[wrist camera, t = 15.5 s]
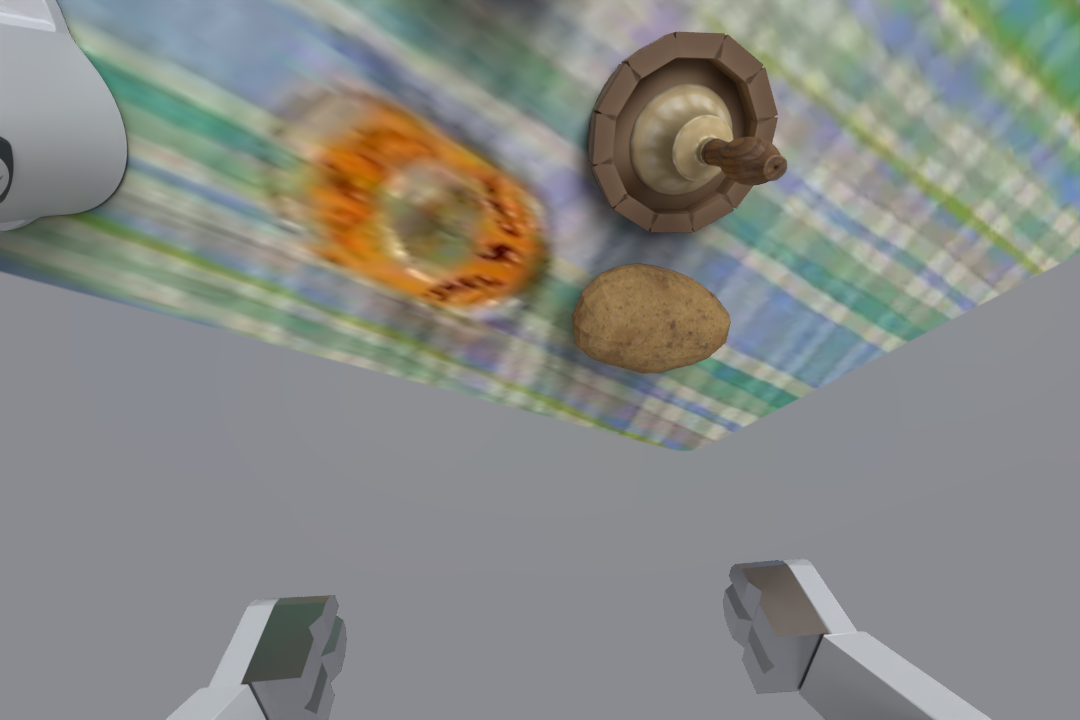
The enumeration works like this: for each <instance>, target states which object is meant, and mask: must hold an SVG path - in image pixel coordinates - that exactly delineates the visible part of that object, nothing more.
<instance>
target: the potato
mask: <svg viewBox="0 0 1080 720" xmlns="http://www.w3.org/2000/svg"><path fill="white" fill-rule="evenodd" d="M572 318H573V325H574V338H575V344H576V345H577V346H578V347H579V348H580V349H581V350H582V351H584V352H585V353H586V354H587V355H588V356H589V357H591V358H593V359H596V360H598V361H601V362H604V363H607V364H610V365H614V366H619V367H623V368H627V369H630V370H633V371H637V372H640V373H660V372H664V371H667V370H671V369H675V368H680V367H684V366H688V365H692V364H695V363H697V362H700V361H702V360H704V359H707V358H708V357H710V356H711V355H712V354H713V353H714V352H715V351H717V350H718V349H719V348H720V347H721V346H722V345H723V344H725V343H726V340H727V336H728V331H729V327H730V323H731V321H730V316H729V313H728V312H727V311H726V309H725V308H724V307H723V305H722V304H721V303H720V301H719V300H718V299H717V297H716V296H715V295H714V294H713V293H712V292H710V291H709V290H708V289H706V288H705V287H704V286H702V285H701V284H699V283H698V282H697V281H695V280H694V279H692V278H691V277H688V276H685V275H683V274H680V273H678V272H675V271H671V270H668V269H664V268H660V267H656V266H651V265H646V264H640V263H636V264H630V265H623V266H618V267H615V268H613V269H611V270H608V271H606V272H603V273H601V274H599V275H598V276H597V277H596V278H595V279H594V280H593V281H592V282H591V283H590V284H589V285H588V286H587V287H586V288H585V289H584V290H583V292H582V294H581V296H580V298H579V301H578V303H577V305H576V308H575V310H574V312H573V314H572Z"/></svg>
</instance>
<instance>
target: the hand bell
mask: <svg viewBox="0 0 1080 720" xmlns="http://www.w3.org/2000/svg"><path fill="white" fill-rule="evenodd" d="M630 155H631V160H632V164H633V167H634V170H635V172H636V174H637V175H638V177H639V178H640V180H641V181H642V182H643V183H644V184H645V185H646V186H647V187H649V188H650V189H652V190H653V191H655V192H658V193H660V194H664V195H669V196H678V195H684V194H688V193H691V192H694V191H696V190H698V189H700V188H701V187H703V186H704V185H706V184H707V183H708V182H709V181H710V180H712V179H713V178H714V177H715V176H716V175H717V174H719V173H720V172H721V171H723V173H724V174H725V175H726V176H727V177H728V178H729V179H731V180H733V181H734V182H737V183H740V184H743V185H759V184H763V183H766V182H768V181H773V180H777V179H779V178H780V177H781V176H782V175H783V174H784V173H785V172H786V170H787V161H786V159H785V158H784V157H783V156H782V155H781V154H780V153H779V151H778V149H777V148H776V147H775V146H774V145H773V144H772V143H771V142H769V141H767V140H765V139H763V138H758V137H741V138H738V139H735V140H733V135H732V121H731V116H730V113H729V111H728V108H727V106H726V105H725V103H724V101H723V100H722V99H721V98H720V97H719V95H718V94H716V93H715V92H714V91H713V90H711V89H709V88H707V87H705V86H703V85H699V84H693V83H685V84H678V85H674V86H671V87H669V88H667V89H665V90H663V91H661V92H660V93H658V94H657V95H655V96H654V97H653V98H652V99H651V100H650V101H649V102H648V103H647V104H646V105H645V107H644V108H643V109H642V111H641V112H640V114H639V116H638V117H637V119H636V122H635V124H634V126H633V130H632V134H631V140H630Z"/></svg>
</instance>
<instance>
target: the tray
mask: <svg viewBox="0 0 1080 720" xmlns="http://www.w3.org/2000/svg"><path fill="white" fill-rule="evenodd" d="M762 66H763V64H762V63H761V62H759V61H758V60H757V59H756V58H755V57H754V56H752V55H751V54H750V53H749V52H748V51H746V50H745V49H744V48H743V47H742V46H741V45H739V44H738V43H737V42H736V41H735V40H734V39H732V38H731V37H730V36H729V35H725V34H722V33H695V32H674V33H671V34H667V35H664V36H663V37H661V38H660V39H658V40H656V41H655V42H653V43H651V44H649V45H647V46H645V47H643V48H642V49H640V50H638V51H637V52H635V53H634V54H633V55H631V56H630V57H628V58H627V59H625V60H624V61H622V64H619V65H618V67H617V69H616V70H615V72H614V73H613V74H612V75H611V76H610V78H609V79H608V81H607V82H606V84H605V85H604V87H603V89H602V91H601V93H600V95H599V97H598V99H597V101H596V104H595V107H594V108H593V113H592V117H591V121H590V126H589V134H588V151H589V161H590V166H591V168H592V172H593V174H594V177H595V179H596V182H597V184H598V185H599V187H600V189H601V191H602V192H603V194H604V196H605V198H606V201H607V203H608V204H609V205H610V206H611V207H612V208H613V209H614V210H615V211H617V212H619V213H620V214H622V215H623V216H625V217H626V218H628V219H629V220H631V221H633V222H634V223H636V224H637V225H639V226H640V227H642V228H643V229H645V230H647V231H650V232H692V230H693V231H694V232H695V231H696V230H698V229H700V228H702V227H704V226H706V225H708V224H710V223H711V222H713V221H715V220H717V219H719V218H721V217H723V216H724V215H726V214H728V213H730V212H732V211H734V210H733V207H734V208H737V207H738V205H739V204H740V203H741V201H742V200H743V199H744V197H745V196H746V195H747V193H748V192H749V191H750V189H751V188H752V187H753V185H743V184H740V183H737V182H734V181H733V180H731V179H729V178H728V177H727V176H726V175H725V174H724V173H723V171H721V172H720V173H719V174H717V175H716V176H715V177H714V178H713V179H712V180H710V181H709V182H708V183H707V184H706V185H704V186H703V187H701V188H700V189H698V190H696V191H694V192H691V193H688V194H684V195H678V196H669V195H664V194H660V193H658V192H655V191H653V190H652V189H650V188H649V187H647V186H646V185H645V184H644V183H643V182H642V181H641V180H640V178H639V177H638V175H637V174H636V172H635V170H634V167H633V164H632V160H631V155H630V140H631V134H632V130H633V126H634V124H635V122H636V119H637V117H638V116H639V114H640V112H641V111H642V109H643V108H644V107H645V105H646V104H647V103H648V102H649V101H650V100H651V99H652V98H653V97H654V96H655V95H657V94H658V93H660V92H661V91H663V90H665V89H667V88H669V87H671V86H674V85H678V84H685V83H693V84H699V85H703V86H705V87H707V88H709V89H711V90H713V91H714V92H715V93H716V94H718V95H719V97H720V98H721V99H722V100H723V101H724V103H725V105H726V106H727V108H728V111H729V113H730V116H731V121H732V135H733V140H735V139H738V138H741V137H758V138H763V139H765V140H767V141H769V142H771V143H772V141H773V137H774V132H775V128H776V123H777V119H778V118H775V117H774V116H776V115H778V114H777V110H776V106H775V103H774V99H773V95H772V91H771V88H770V84H769V80H768V77H767V73H766V69H765V68H762Z"/></svg>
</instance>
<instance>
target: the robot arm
mask: <svg viewBox="0 0 1080 720" xmlns="http://www.w3.org/2000/svg"><path fill="white" fill-rule="evenodd" d="M126 159H127V142H126V134H125V129H124V125H123V121H122V118H121V115H120V112H119V110H118V107H117V105H116V102H115V100H114V98H113V96H112V94H111V92H110V91H109V89H108V87H107V85H106V84H105V82H104V81H103V79H102V78H101V76H100V75H99V73H98V72H97V70H96V69H95V68H94V66H93V65H92V64H91V63H90V61H89V60H88V59H87V58H86V56H85V55H84V54H83V53H82V51H81V50H80V49H79V47H78V46H77V45H76V43H75V42H74V40H73V38H72V37H71V35H70V33H69V30H68V28H67V25H66V23H65V20H64V18H63V15H62V13H61V11H60V8H59V6H58V4H57V2H56V0H0V231H7V230H13V229H18V228H21V227H24V226H26V225H28V224H29V223H31V222H33V221H34V220H36V219H38V218H39V217H43V216H53V215H68V214H75V213H80V212H84V211H87V210H89V209H92V208H94V207H96V206H98V205H100V204H101V203H103V202H104V201H105V200H106V199H108V198H109V197H110V196H111V195H112V193H113V192H114V191H115V190H116V188H117V187H118V185H119V183H120V181H121V179H122V176H123V174H124V170H125V166H126ZM729 577H730V579H731V582H732V585H731V586H730V587H728V588H727V589H726V590H725V594H724V599H723V605H724V614H725V618H726V622H727V625H728V628H729V630H730V633H731V635H732V637H733V639H735V640H736V641H737V642H738V643H739V644H741V645H742V646H743V647H744V648H745V649H744V653H743V657H742V660H743V663H744V665H745V668H746V670H747V672H748V674H749V677H750V679H751V681H752V683H753V685H754V688H755V690H756V693H757V694H761V693H777V692H792V691H800V692H799V694H800V695H801V696H802V697H803V698H804V699H805V700H806V701H807V702H808V703H809V704H810V705H811V706H812V707H813V708H814V709H815V710H816V711H817V712H818V713H819V714H820V715H821V716H822V717H823V718H824V719H825V720H991V719H990V718H988V717H987V716H986V715H984V714H982V713H981V712H980V711H978V710H977V709H976V708H974V707H973V706H971V705H970V704H968V703H967V702H965V701H964V700H963V699H961V698H960V697H958V696H957V695H955V694H954V693H953V692H951V691H950V690H948V689H947V688H945V687H944V686H942V685H941V684H939V683H938V682H937V681H935V680H934V679H932V678H931V677H930V676H928V675H927V674H925V673H924V672H922V671H921V670H919V669H918V668H917V667H915V666H914V665H912V664H911V663H909V662H908V661H907V660H905V659H904V658H902V657H901V656H899V655H898V654H896V653H895V652H894V651H892V650H891V649H889V648H888V647H886V646H885V645H883V644H882V643H881V642H879V641H878V640H876V639H875V638H873V637H872V636H870V635H869V634H868V633H866V632H857V630H856V629H855V627H854V626H853V624H852V623H851V622H850V620H849V618H848V617H847V616H846V614H845V613H844V611H843V610H842V608H841V607H840V605H839V604H838V602H837V601H836V599H835V598H834V596H833V595H832V593H831V592H830V590H829V589H828V587H827V586H826V584H825V583H824V582H823V580H822V579H821V577H820V576H819V574H818V573H817V571H816V570H815V568H814V567H813V565H812V564H811V563H810V562H809V561H808V560H806V559H795V560H785V561H779V560H775V561H764V562H753V563H743V564H735V565H733V566H732V567H731V570H730V574H729ZM338 607H339V605H338V602H337V600H336V597H335V595H331V596H330V595H329V596H312V597H311V596H310V597H292V598H273V599H259V600H253V601H252V603H251V604H250V605H249V606H248V607H247V608H246V610H245V612H244V614H243V616H242V618H241V620H240V622H239V624H238V626H237V628H236V631H235V633H234V635H233V637H232V639H231V641H230V643H229V645H228V647H227V649H226V651H225V653H224V655H223V658H222V660H221V662H220V664H219V666H218V668H217V670H216V672H215V674H214V676H213V678H212V680H211V682H210V685H209V687H205V688H199V689H198V690H197V691H196V692H195V693H194V694H193V695H192V696H191V697H190V698H189V699H187V700H186V701H185V702H184V703H183V704H182V705H181V706H180V707H179V708H178V709H177V710H176V711H174V712H173V713H172V714H171V715H170V716H169V717H168V718H167V719H166V720H328V718H329V715H330V711H331V707H332V704H333V700H334V696H335V695H334V692H333V689H332V686H331V682H332V681H333V680H334V678H335V677H336V676H337V675H338V674H339V673H340V672H341V670H342V666H343V661H344V657H345V650H346V640H347V639H346V628H345V624H344V621H343V620H342V619H341V618H339V617H338V616H336V613H337V610H338Z"/></svg>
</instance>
